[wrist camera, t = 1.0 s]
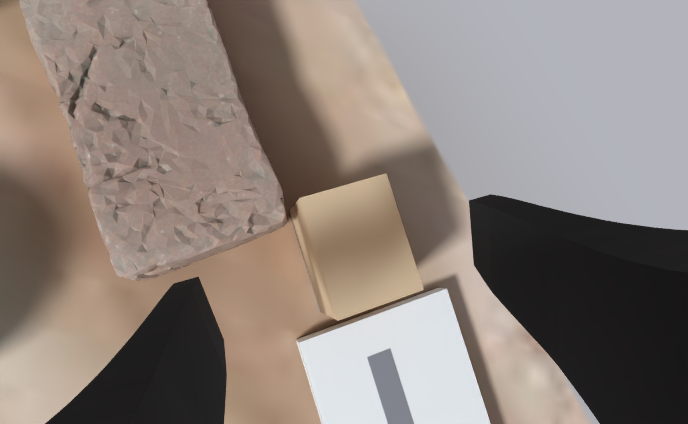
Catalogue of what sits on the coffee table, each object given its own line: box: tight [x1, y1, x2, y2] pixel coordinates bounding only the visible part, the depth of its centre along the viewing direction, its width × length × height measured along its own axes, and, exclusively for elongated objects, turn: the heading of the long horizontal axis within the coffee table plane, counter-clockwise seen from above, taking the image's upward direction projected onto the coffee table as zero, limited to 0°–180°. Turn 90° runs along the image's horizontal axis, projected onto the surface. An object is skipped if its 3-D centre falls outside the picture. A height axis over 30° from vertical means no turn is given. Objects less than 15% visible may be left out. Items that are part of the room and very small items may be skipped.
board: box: [296, 288, 491, 424], centre depth 26 cm, size 11×9×1 cm
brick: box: [19, 0, 287, 281], centre depth 24 cm, size 17×8×5 cm, turn 22°
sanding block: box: [289, 173, 424, 321], centre depth 24 cm, size 6×4×5 cm
